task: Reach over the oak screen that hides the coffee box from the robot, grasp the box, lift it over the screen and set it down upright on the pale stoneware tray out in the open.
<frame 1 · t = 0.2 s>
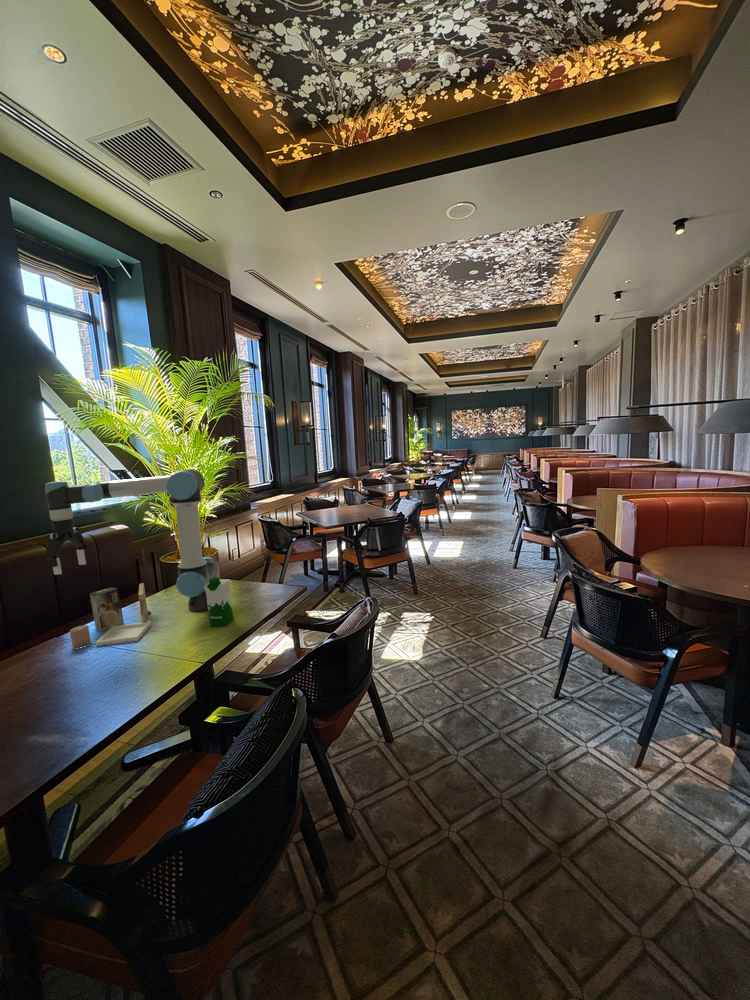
hand: (70, 569, 174), 27 cm above the table, fingers open, 13 cm apart
brown domed capsule: (81, 645, 164), on the table
milk carton: (222, 623, 176), on the table
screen: (145, 618, 187), on the table
coffee box: (109, 626, 181), on the table
tray: (125, 635, 170), on the table
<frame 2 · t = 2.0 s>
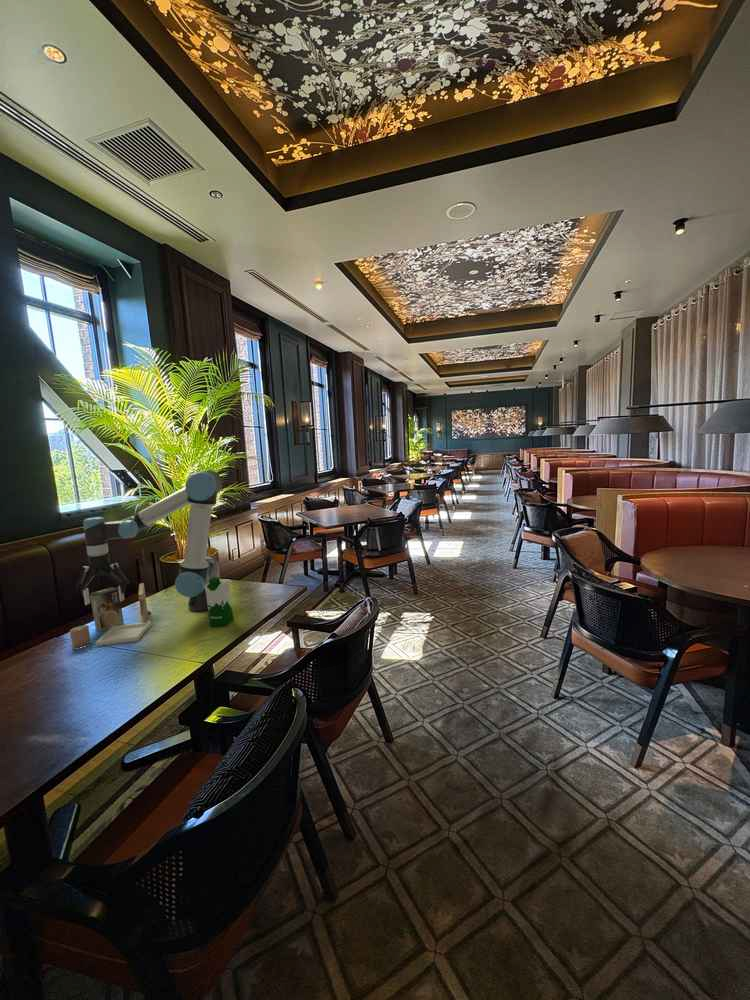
hand: (105, 602, 179), 11 cm above the table, fingers open, 13 cm apart
nothing on the table moved.
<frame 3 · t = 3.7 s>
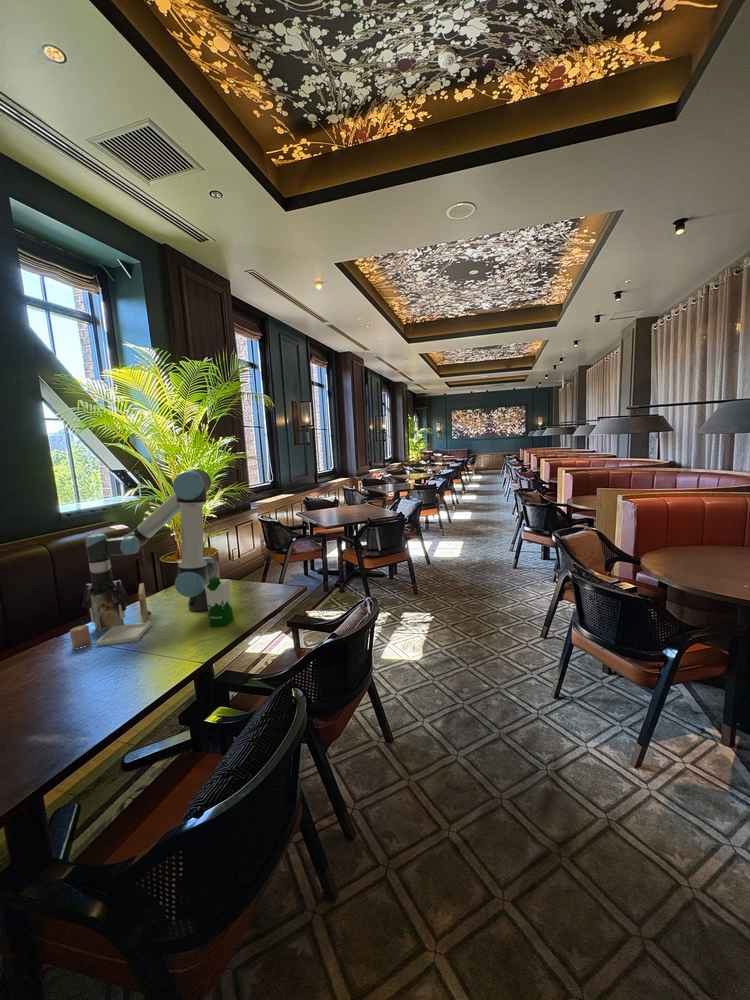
hand: (108, 620, 180), 3 cm above the table, fingers closed on coffee box, 11 cm apart
coffee box: (109, 626, 181), on the table, touching gripper
everything else where it was.
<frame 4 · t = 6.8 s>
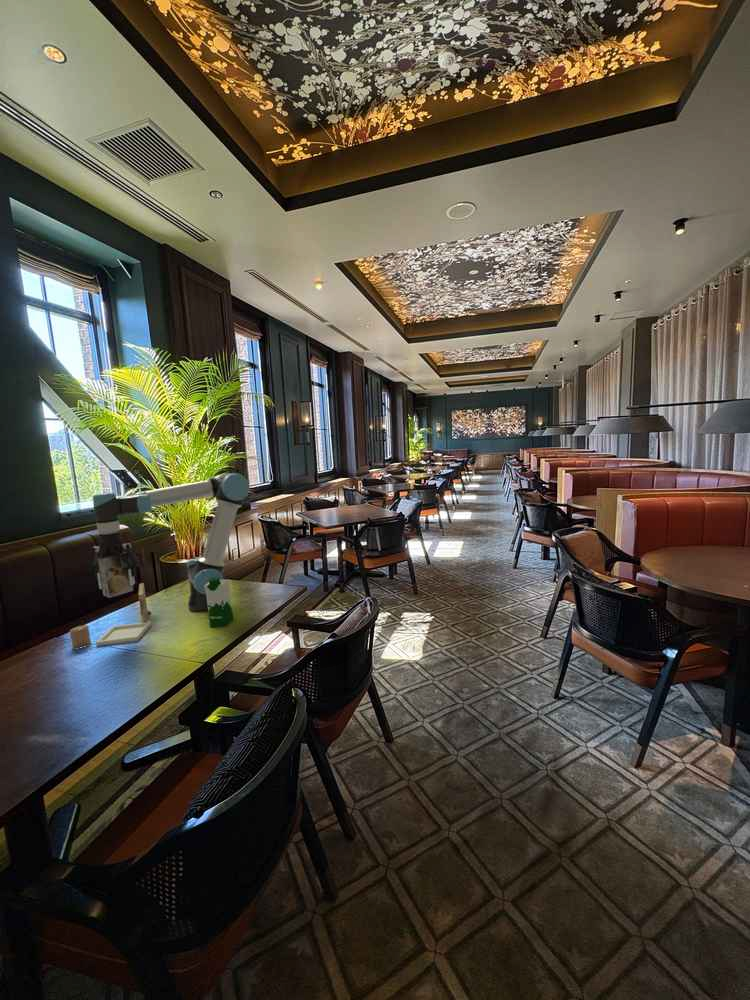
hand: (117, 586, 168), 21 cm above the table, fingers closed on coffee box, 11 cm apart
coffee box: (118, 593, 168), point 18 cm above the table, touching gripper
everything else where it was.
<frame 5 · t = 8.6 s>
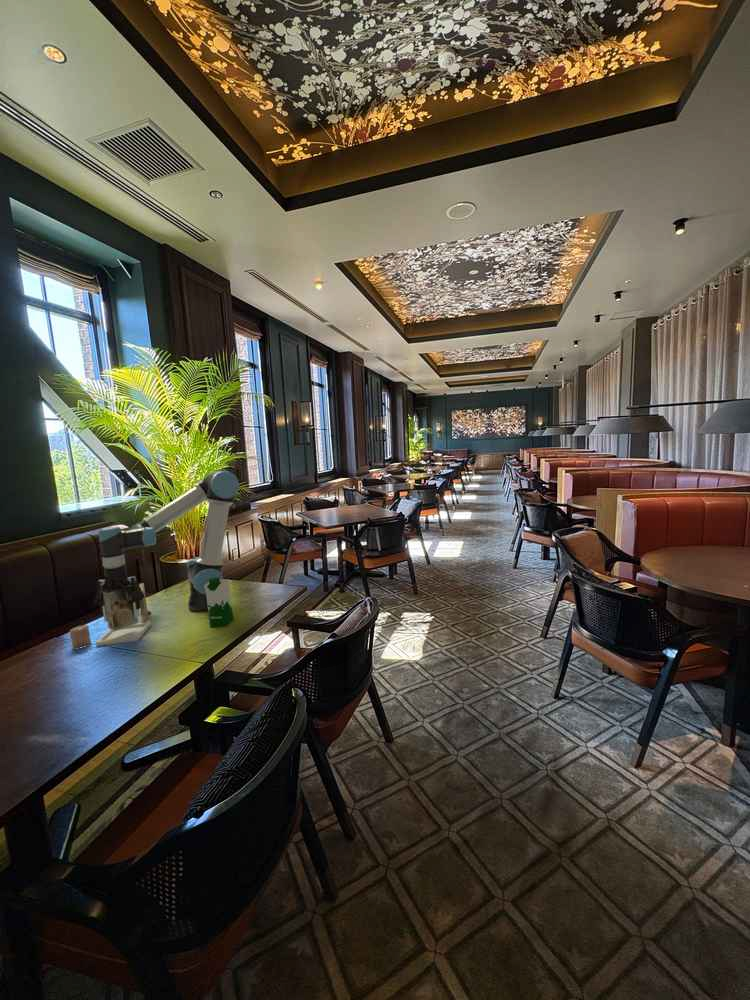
hand: (122, 618, 169), 7 cm above the table, fingers closed on coffee box, 11 cm apart
coffee box: (123, 626, 170), point 4 cm above the table, touching gripper
everything else where it was.
when the fingers open (5 cm above the table, at t = 10.0 s): coffee box drops 2 cm, resting on tray.
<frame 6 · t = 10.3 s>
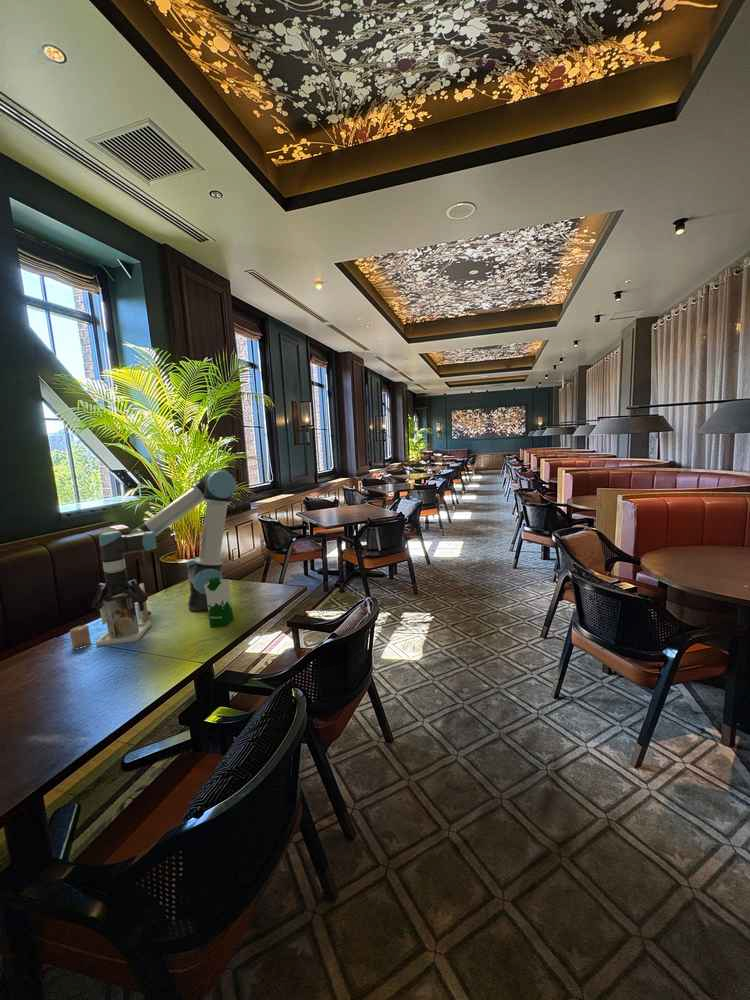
hand: (123, 621, 170), 6 cm above the table, fingers open, 13 cm apart
coffee box: (124, 634, 170), resting on tray
everything else where it was.
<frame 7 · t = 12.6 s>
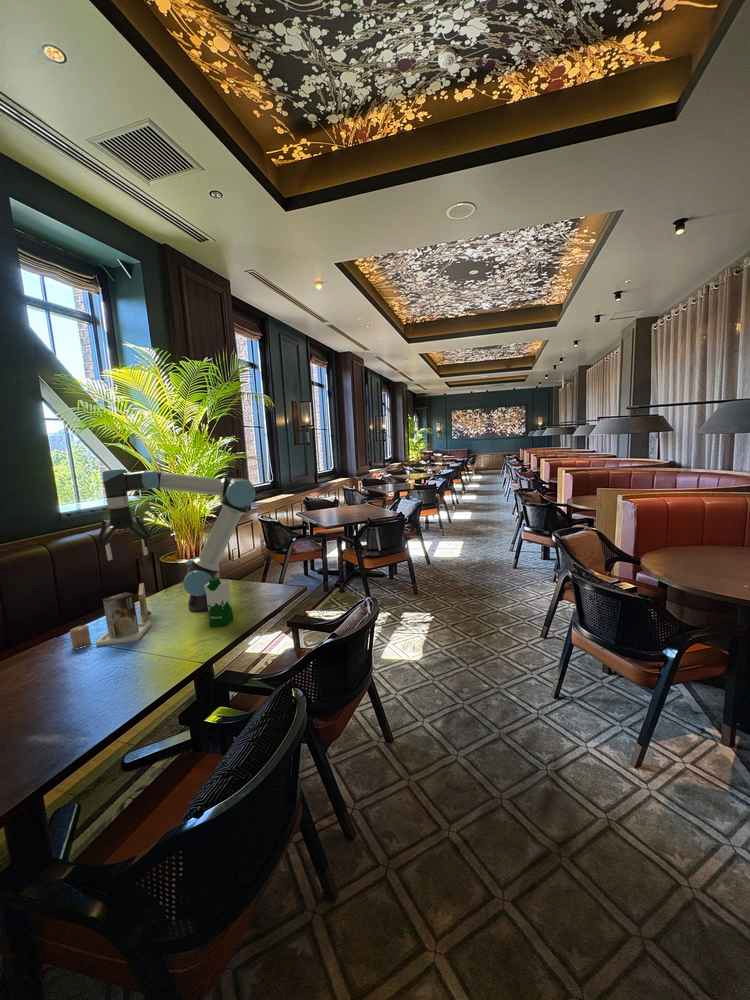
hand: (128, 557, 174), 31 cm above the table, fingers open, 13 cm apart
nothing on the table moved.
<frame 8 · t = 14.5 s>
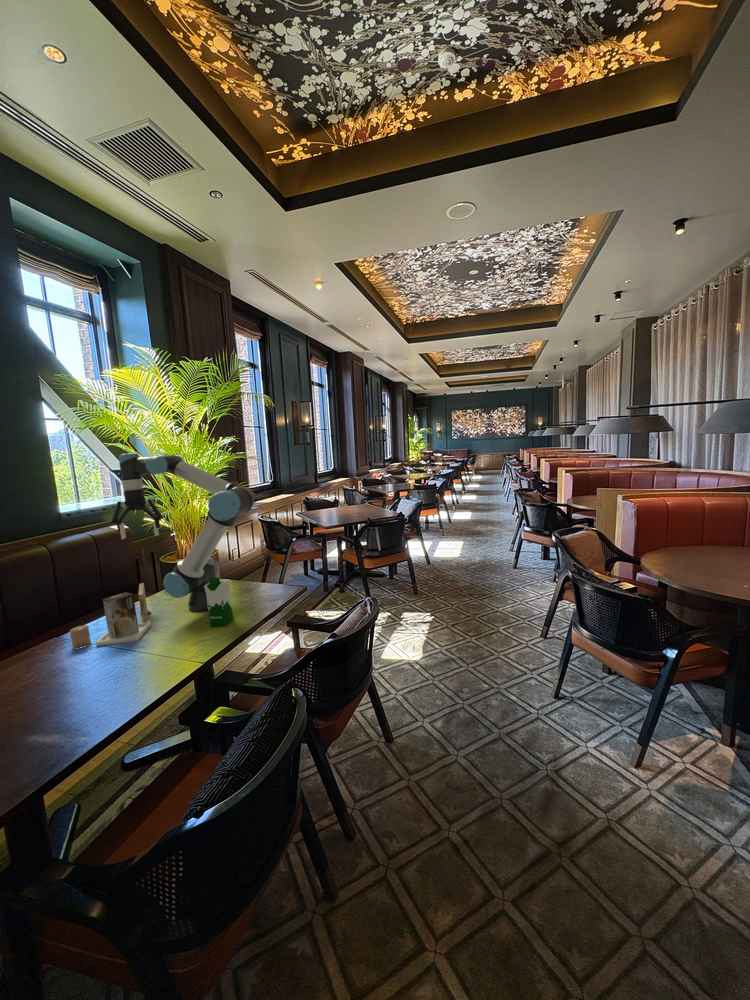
hand: (140, 537, 184), 37 cm above the table, fingers open, 13 cm apart
nothing on the table moved.
at the end: coffee box inside the target area on the tray (0.4 cm from its centre), point 0.4 cm above the tray's base; coffee box tilted 0°; the gripper is holding nothing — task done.
